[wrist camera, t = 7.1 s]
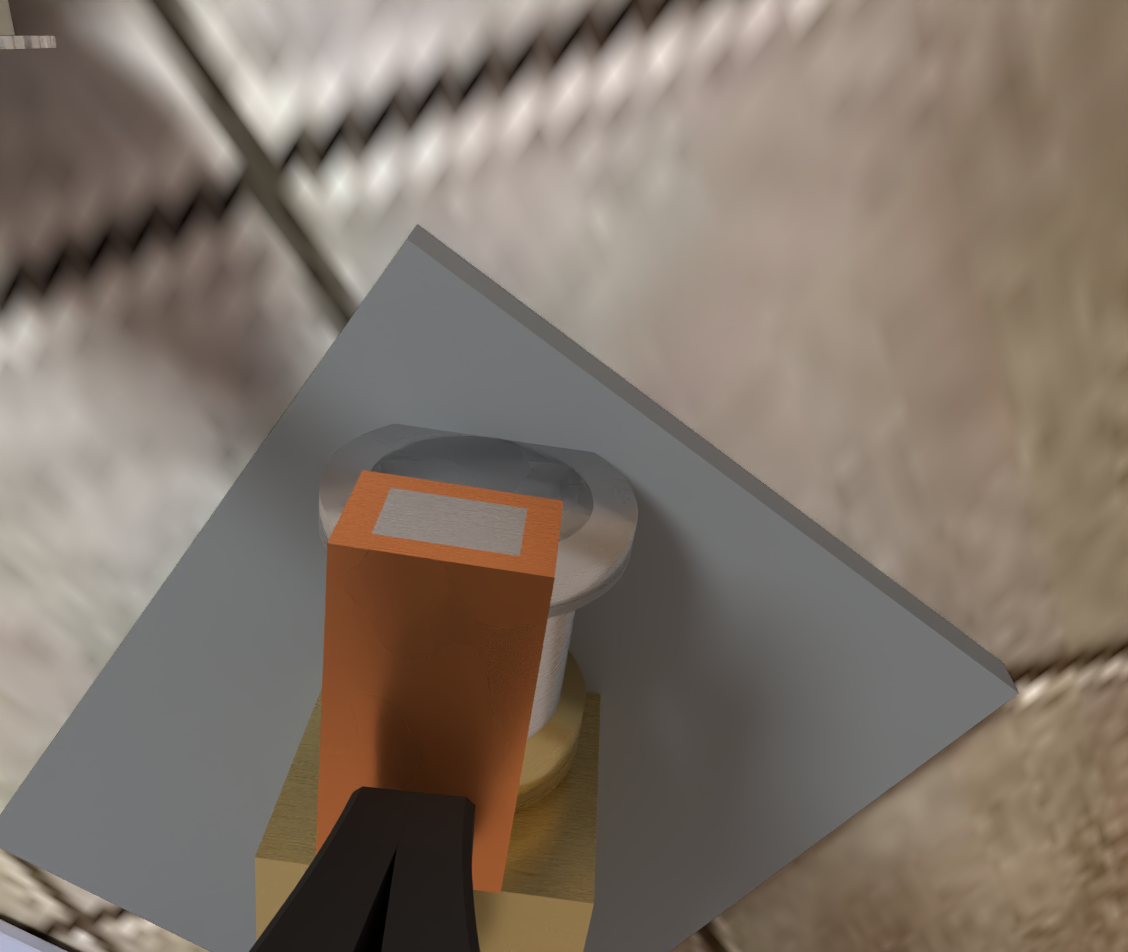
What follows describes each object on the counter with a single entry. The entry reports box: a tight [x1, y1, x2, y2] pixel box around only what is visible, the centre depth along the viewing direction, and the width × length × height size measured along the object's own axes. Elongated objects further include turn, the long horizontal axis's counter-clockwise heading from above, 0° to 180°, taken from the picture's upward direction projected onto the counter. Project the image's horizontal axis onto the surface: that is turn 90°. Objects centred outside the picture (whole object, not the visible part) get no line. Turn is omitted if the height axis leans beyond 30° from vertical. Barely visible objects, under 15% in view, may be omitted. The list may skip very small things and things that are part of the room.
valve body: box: [255, 424, 638, 952], centre depth 21 cm, size 18×6×8 cm, turn 172°
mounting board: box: [0, 224, 1018, 952], centre depth 24 cm, size 20×16×1 cm
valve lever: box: [316, 470, 563, 894], centre depth 14 cm, size 13×3×2 cm, turn 172°
